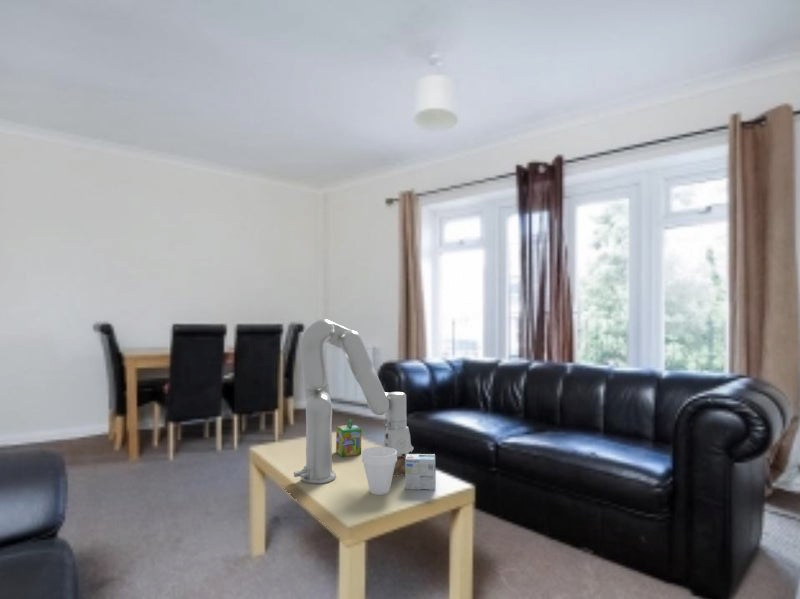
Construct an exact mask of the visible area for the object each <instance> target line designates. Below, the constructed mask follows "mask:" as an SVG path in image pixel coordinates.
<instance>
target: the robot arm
mask: <svg viewBox="0 0 800 599" xmlns="http://www.w3.org/2000/svg"><path fill="white" fill-rule="evenodd" d="M325 343H327V344H330V345H332V346H334V347H336V348H339V349H341V350H342V352H343V354H344V356H345V359H346V362H347V363H348V366H349V368H350V370H351V373H352V375H353V377H354V379H355V380H356V382H357V383H358V385H359V387H360V388H361V391H362V393H363V395H364V397H365V399H366V405H367V408H369V409H370V411H371V412H372V413H373V414H374V415H376V416H382V415H385V414H386V418H387V421H386V423H385V424H384V426H385V427H386V428H385V434H384V442H383V443H384V444H383V447H389V448H393V449H395V450H396V451H397V456H398V455H402V456H405V457H406V455H407V454H412V452H413V450H414V446H413V445H412V443H411V433H410V429H409V426H407V394H406V393H405V392H402V391H391V392H386V391H385V389H384V387H383V385H382V382H381V380H380V379H379V376H378V374H377V371H376V369H375V366H374V364H373V362H372V359H371V357H370V354H369V352H368V350H367V348H366V346H365V342H364V340H363V338H362V336H361V335H360V333H359V332H358V331H355V330H352V329H349V328H347V327H345V326H343V325H340V324H338V323H335V322H333V321H331V320H330V319H327V318H320V319H317V320H316V321H315V322H313V323H312V324H310V326H309V327H307V329H305V331H304V332H303V335H302V338H301V340H300V357H301V367H302V381H303V387H304V395H305V401H306V404H305V422H306V423H305V428H306V429H305V437H306V438H305V440H306V442H305V446H306V448H305V453H306V454H305V457H306V458H305V459H306V460H305V461H306V464H305V466H303V468H302V469H301V470H296V471H294V472H293V476H294V478H297V477H300V478H301V479H302V481H303V482H304V483H308V484H315V485H316V484H324V483H325V484H326V483H329V482H332V481H333V480H335V479H336V478H337V473H336V472H335V471H334V470H332V469H333V457H332V455H333V448H332V447H333V445H332V444H333V443H332V442H333V440H332V438H333V435H332V434H333V433H332V432H333V431H332V430H333V428H332V423H333V422H332V420H333V405H332V400H331V393H330V386H329V379H328V377H329V376H328V372H327V371H328V370H327V369H326V362H325V353H324V352H325V351H324V345H325Z"/></svg>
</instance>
